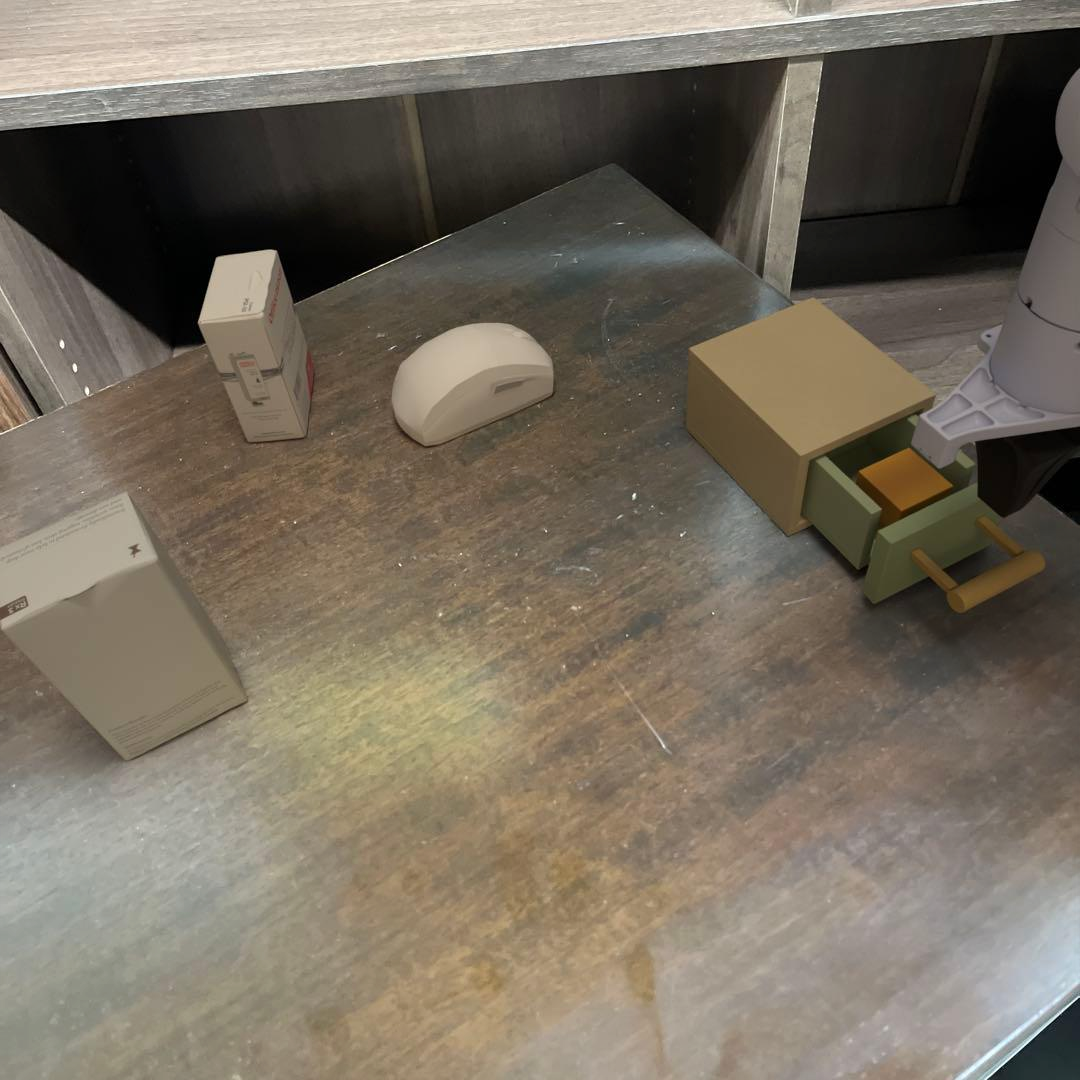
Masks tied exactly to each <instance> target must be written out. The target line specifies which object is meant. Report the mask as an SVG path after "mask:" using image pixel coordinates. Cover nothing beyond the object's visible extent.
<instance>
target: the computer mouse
mask: <svg viewBox="0 0 1080 1080" xmlns="http://www.w3.org/2000/svg"><path fill="white" fill-rule="evenodd" d="M554 377H555V375H554V364H553V359H552V357H551V356H550V355H549V353H548V352H547V351H546V350H545V349H544V348H543V347H542V345H540V344H539V343H538V341H537V340H536V339H535V338H534V337H533V336H532V335H530V333H528V332H527V331H525V330H523V329H521V328H519V327H516V326H514V325H512V324H510V323H503V322H480V323H471V324H466V325H460V326H457V327H455V328H451V329H449V330H447V331H445V332H443V333H441V334H439V335H437V336H436V337H433V338H432V339H430V340H428V341H426V342H424V343H423V344H422V345H420V346H419V347H418V348H417V349H415V351H414V352H412V353H411V354H410V355H409V356H408V357H406V358H405V359H404V360H403V361H402V362H401V363H400V364H399V367H398V370H397V372H396V374H395V377H394V381H393V384H392V390H391V398H390V399H391V400H390V401H391V406H392V409H393V412H394V417H395V420H396V423H397V424H398V425H399V427H400V429H401V430H402V431H403V432H404V433H405V434H407V435H408V436H409V437H410V438H411V439H412V440H414V441H416V442H418V443H419V444H421V445H423V446H424V447H430V446H436V445H442V444H444V443H446V442H449V441H451V440H453V439H456V438H458V437H460V436H463V435H465V434H468V433H470V432H473V431H475V430H478V429H481V428H483V427H484V426H486V425H489V424H491V423H494V422H496V421H498V420H501V419H503V418H506V417H507V416H510V415H513V414H515V413H518V412H520V411H522V410H524V409H526V408H529V407H530V406H532V405H535V404H537V403H539V402H541V401H544V400H545V399H547V398H549V397H551V396H553V393H554Z"/></svg>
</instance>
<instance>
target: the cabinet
mask: <svg viewBox="0 0 1080 1080" xmlns="http://www.w3.org/2000/svg"><path fill="white" fill-rule="evenodd" d="M687 355H688V358H687V359H688V360H687V361H688V362H687V385H686V412H685V413H686V415H685V421H686V422H685V429H686V431H687V432H688V433H689V434H690V435H691V436H692V437H693V438H694V439H695V440H696V441H697V442H698V443H699V445H701V446H702V447H703V449H704V450H706V452H707V453H708V454H709V455H710V456H711V457H712V458H713V459H714V460H715V461H716V462H717V463H718V464H719V465H720V466H721V468H722V469H723V470H724V471H725V472H726V473H727V474H728V475H729V476H730V477H731V478H732V480H734V481H735V482H736V483H737V485H738V486H740V488H741V489H742V490H743V491H744V492H745V493H746V494H747V495H748V496H749V497H750V498H751V499H752V500H753V501H754V502H755V503H756V505H757V506H758V507H759V508H760V509H761V510H762V511H763V512H764V513H765V514H766V515H767V516H768V517H769V518H770V520H772V521H773V523H774V524H776V526H778V528H779V529H780V530H781V531H782V532H783V534H784V535H786V536H787V537H790V536H792V535H794V534H796V533H798V532H800V531H803V530H805V529H807V528H808V527H811V526H814V525H813V524H812V523H811V522H810V521H809V520H808V519H807V518H806V517H805V515H804V514H803V513H802V512H801V507H802V501H803V495H804V489H805V484H806V478H807V472H808V466H809V460H811V459H813V458H815V457H818V456H820V455H822V454H824V453H826V452H829V451H831V450H833V449H835V448H837V447H839V446H842V445H844V444H846V443H848V442H850V441H853V440H855V439H857V438H859V437H861V436H863V435H866V434H868V433H870V432H872V431H874V430H877V429H879V428H881V427H883V426H885V425H888V424H890V423H892V422H894V421H896V420H898V419H901V418H903V417H905V416H907V415H909V414H912V413H915V414H916V415H918V416H919V415H920V414H923V413H924V412H926V411H928V410H930V409H932V408H933V407H934V403H935V400H936V396H937V393H935V392H934V391H933V390H931V388H929V387H928V386H927V385H925V384H924V383H923V382H921V380H919V379H918V378H916V377H915V376H914V375H913V374H912V373H910V372H909V371H907V369H905V368H904V367H903V366H901V365H900V364H899V363H897V362H896V360H894V359H892V358H891V357H890V356H888V354H886V353H885V352H884V351H883V350H881V349H880V348H878V347H877V346H876V345H875V344H874V343H872V342H871V341H869V340H868V339H867V338H866V337H865V336H864V335H862V334H861V333H860V332H858V331H857V330H856V329H855V328H854V327H852V326H851V325H850V324H848V323H847V322H846V321H844V320H843V319H842V318H840V316H838V315H837V314H836V313H835V312H833V311H832V310H831V309H830V308H828V307H827V306H825V304H823V303H822V302H820V301H819V300H818V299H817V298H815V297H814V296H812V297H810V298H808V299H805V300H803V301H800V302H798V303H796V304H793V305H791V306H788V307H786V308H784V309H781V310H778V311H776V312H774V313H771V314H769V315H766V316H763V317H761V318H758V319H756V320H754V321H751V322H749V323H747V324H744V325H742V326H740V327H737V328H734V329H732V330H730V331H727V332H725V333H723V334H722V333H721V334H720V335H718V336H715V337H713V338H710V339H708V340H705V341H703V342H700V343H698V344H696V345H695V344H694V345H693V346H690V347H689V348H688V354H687Z"/></svg>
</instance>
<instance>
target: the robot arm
mask: <svg viewBox="0 0 1080 1080" xmlns="http://www.w3.org/2000/svg"><path fill="white" fill-rule="evenodd" d="M1054 126H1055V127H1054V128H1055V136H1056V141H1057V146H1058V148H1059V151H1060V154H1061V156H1062V159H1061V162H1060V165H1059V168H1058V171H1057V174H1056V176H1055V180H1054V182H1053V184H1052V186H1051V188H1050V189H1049V192H1048V194H1047V197H1046V200H1045V203H1044V206H1043V208H1042V211H1041V214H1040V217H1039V220H1038V223H1037V226H1036V228H1035V232H1034V234H1033V237H1032V239H1031V242H1030V245H1029V248H1028V251H1027V253H1026V256H1025V259H1024V262H1023V265H1022V268H1021V271H1020V273H1019V277H1018V280H1017V283H1016V286H1015V289H1014V292H1013V294H1012V297H1011V300H1010V303H1009V305H1008V309H1007V311H1006V314H1005V316H1004V320H1003V322H1002V324H999V325H997V326H995V327H991V328H990V329H987V330H985V331H983V332H982V333H980V335H979V338H978V341H977V345H976V346H977V348H978V349H979V350H980V351H981V352H982V353H983V354H984V356H983V357H982V358H981V360H979V361H978V362H977V364H975V366H974V367H973V368H972V369H971V370H970V371H969V372H968V373H967V374H966V375H965V376H964V378H962V380H961V381H960V382H959V383H958V384H957V385H956V386H955V387H954V388H953V389H952V390H951V391H950V392H949V394H948V395H946V396H945V397H944V398H943V399H942V400H941V401H940V402H939V403H938V404H936V405H935V406H933V407H932V409H930V410H928V411H926V412H924V413H923V414H920V415H919V418H918V421H917V425H916V428H915V431H914V435H913V438H912V441H911V445H912V446H914V447H915V448H916V449H917V450H918V451H919V452H920V453H921V454H922V455H923V456H924V457H925V458H927V459H928V460H929V461H931V462H932V463H933V464H934V465H935V466H936V467H937V468H942V467H945V466H947V465H949V464H951V463H953V462H954V461H955V458H956V455H957V453H958V450H960V449H961V447H962V446H964V445H966V444H969V443H974V445H975V450H976V460H977V461H976V465H977V482H978V483H977V482H976V483H977V497H978V498H980V499H981V500H982V501H983V502H984V503H985V504H986V505H988V506H989V507H990V508H991V509H992V510H993V511H994V512H996V513H997V514H998V515H999V516H1000V517H1002V518H1003V519H1005V518H1008V517H1009V516H1011V515H1013V514H1015V513H1017V512H1019V511H1021V510H1022V509H1023V508H1024V507H1026V506H1027V505H1028V504H1029V503H1030V502H1031V501H1032V500H1033V499H1034V498H1035V497H1036V495H1038V493H1039V492H1040V491H1041V490H1042V489H1043V488H1044V487H1045V486H1046V484H1047V483H1048V482H1049V481H1050V480H1051V479H1052V477H1053V476H1054V475H1055V474H1057V472H1058V471H1059V470H1060V469H1061V468H1062V467H1063V466H1064V465H1065V464H1066V463H1067V462H1069V461H1070V460H1071V459H1072V458H1073V457H1074V456H1076V455H1077V454H1078V453H1079V452H1080V67H1079V68H1078V69H1077V70H1076V71H1075V72H1074V74H1072V76H1071V77H1070V79H1069V80H1068V82H1067V83H1066V85H1065V87H1064V89H1063V91H1062V93H1061V95H1060V98H1059V100H1058V104H1057V109H1056V113H1055V124H1054Z"/></svg>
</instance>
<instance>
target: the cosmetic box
mask: <svg viewBox="0 0 1080 1080" xmlns="http://www.w3.org/2000/svg"><path fill="white" fill-rule="evenodd" d="M0 630H1V632H2V633H3V634H4V635H5V636H6V637H7V638H8V639H9V641H11V642H12V643H13V644H14V645H15V646H16V647H17V648H18V649H19V650H20V652H21V653H22V654H23V655H24V656H25V657H26V658H27V659H28V660H29V661H30V662H31V663H32V664H33V666H35V667H36V668H37V670H38V671H40V672H41V674H42V675H43V676H45V678H46V679H47V680H48V681H49V682H50V683H51V684H52V685H53V686H54V687H55V688H56V690H57V691H58V692H59V693H60V694H61V695H62V696H63V697H64V698H65V699H66V700H67V701H68V702H69V703H70V704H71V705H72V706H73V708H75V710H77V712H79V713H80V714H81V716H82V717H83V718H84V719H85V720H86V721H87V722H88V723H89V724H90V726H92V727H93V728H94V729H95V730H96V731H97V732H98V733H99V734H100V735H101V737H102V738H104V740H105V741H106V742H107V743H108V744H109V745H110V746H111V747H112V748H113V750H115V751H116V753H118V754H119V755H120V757H121V758H122V759H123V760H124V761H125V762H128V761H130V760H133V759H134V758H135V759H136V758H137V757H139V756H141V755H142V754H144V753H147V752H149V751H150V750H152V749H154V748H156V747H158V746H161V745H162V744H163V743H166V742H167V741H170V740H172V739H174V738H176V737H177V736H180V735H182V734H184V733H186V732H188V731H190V730H192V729H194V728H195V727H198V726H200V725H202V724H203V723H206V722H208V721H209V720H212V719H213V718H215V717H217V716H219V715H221V714H223V713H225V712H227V711H228V710H230V709H232V708H235V707H236V706H239V705H241V704H243V703H245V702H247V701H248V696H247V693H246V689H245V688H244V686H243V683H242V680H241V679H240V678H241V677H240V676H239V674H238V671H237V668H236V666H235V664H234V662H233V660H232V657H231V655H230V653H229V650H228V648H227V646H226V642H225V641H224V638H223V636H222V634H221V633H220V631H219V629H218V628H217V626H216V625H215V623H214V621H213V620H212V618H211V617H210V615H209V614H208V612H207V610H206V609H205V608H204V606H203V604H202V603H201V602H200V600H199V598H198V597H197V595H196V594H195V592H194V591H193V590H192V588H191V586H190V585H189V583H188V582H187V580H186V578H185V577H184V576H183V574H182V572H181V571H180V569H179V568H178V566H177V564H176V563H175V561H174V560H173V558H172V557H171V555H170V554H169V552H168V550H167V548H166V547H165V546H164V545H163V543H162V541H161V540H160V537H158V535H157V534H156V532H155V530H154V529H153V527H152V526H151V524H150V523H149V520H148V519H147V518H146V517H145V515H144V514H143V512H142V511H141V508H139V506H138V504H137V503H136V502H135V501H134V498H133V497H132V496H131V495H130V493H129V492H128V491H123V492H122V493H119V494H117V495H114V496H111V497H110V498H108V499H106V500H103V501H101V502H99V503H96V504H95V505H92V506H90V507H88V508H86V509H84V510H82V511H80V512H79V511H78V512H77V513H75V514H73V515H70V516H68V517H66V518H64V519H61V520H59V521H56V522H55V523H52V524H50V525H48V526H46V527H43V528H41V529H39V530H37V531H35V532H32V533H30V534H28V535H26V536H23V537H21V538H19V539H16V540H14V541H12V542H10V543H8V544H5V545H3V546H0Z"/></svg>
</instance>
